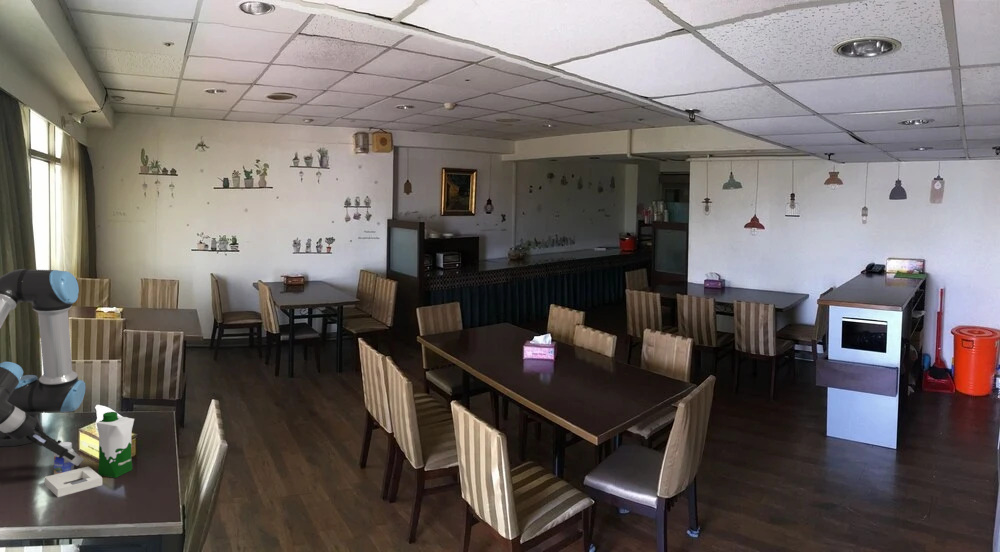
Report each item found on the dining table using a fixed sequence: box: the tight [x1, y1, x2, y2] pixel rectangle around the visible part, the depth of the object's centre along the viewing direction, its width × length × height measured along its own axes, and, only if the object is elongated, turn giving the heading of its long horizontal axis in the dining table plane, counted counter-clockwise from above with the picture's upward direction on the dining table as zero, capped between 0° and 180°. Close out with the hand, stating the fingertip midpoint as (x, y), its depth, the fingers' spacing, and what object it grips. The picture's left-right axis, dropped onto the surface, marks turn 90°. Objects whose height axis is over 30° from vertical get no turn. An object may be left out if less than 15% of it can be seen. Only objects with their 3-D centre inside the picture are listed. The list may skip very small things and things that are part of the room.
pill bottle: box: [53, 441, 75, 475], centre depth 200 cm, size 5×5×10 cm
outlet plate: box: [44, 466, 103, 498], centre depth 192 cm, size 12×12×3 cm
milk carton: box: [95, 411, 135, 479], centre depth 202 cm, size 9×9×20 cm
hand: (77, 459), depth 203 cm, fingers closed on pill bottle, 5 cm apart
